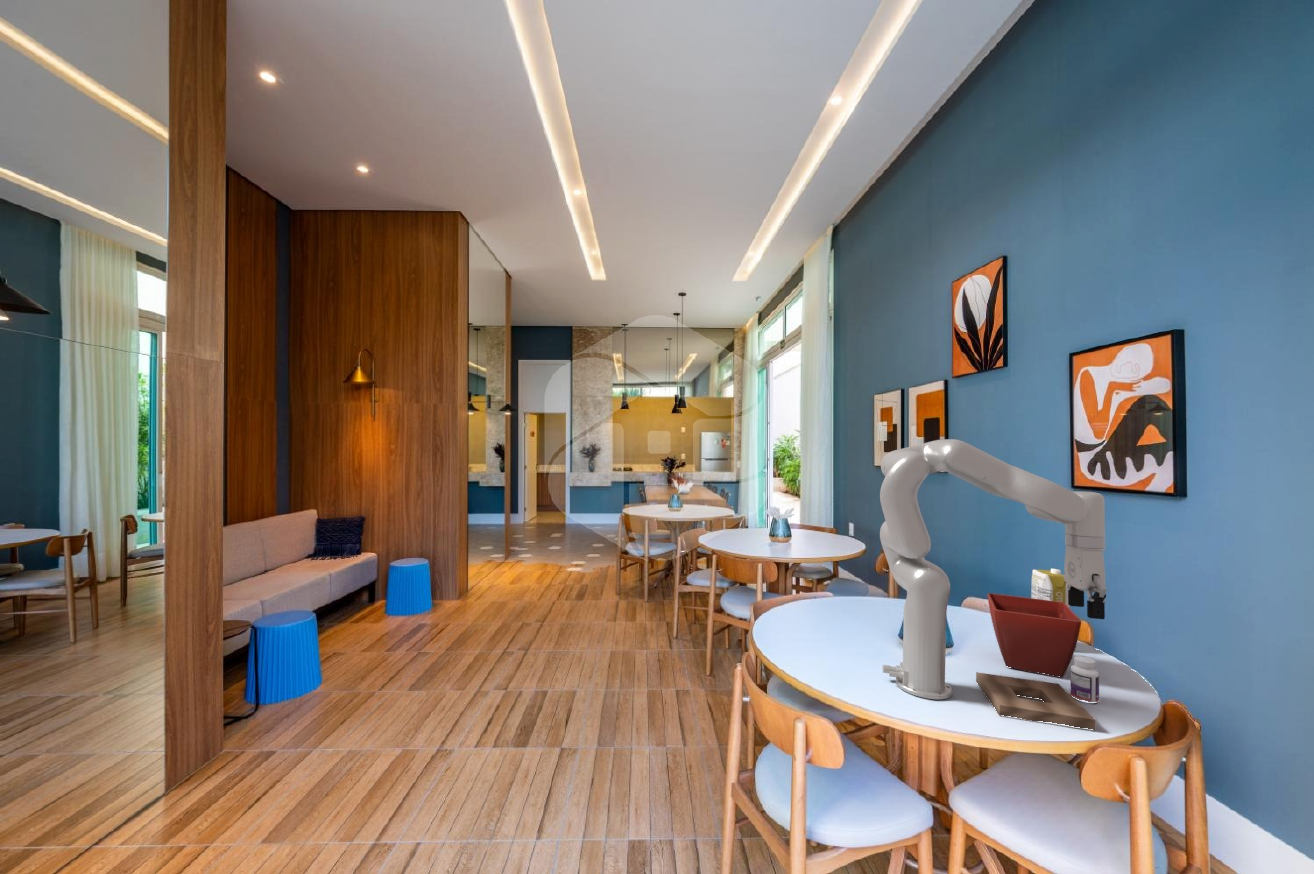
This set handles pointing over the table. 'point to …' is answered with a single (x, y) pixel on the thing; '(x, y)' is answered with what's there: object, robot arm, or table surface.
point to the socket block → (1053, 709)
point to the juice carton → (1049, 586)
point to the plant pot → (1034, 633)
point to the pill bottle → (1084, 679)
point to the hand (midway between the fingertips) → (1085, 612)
